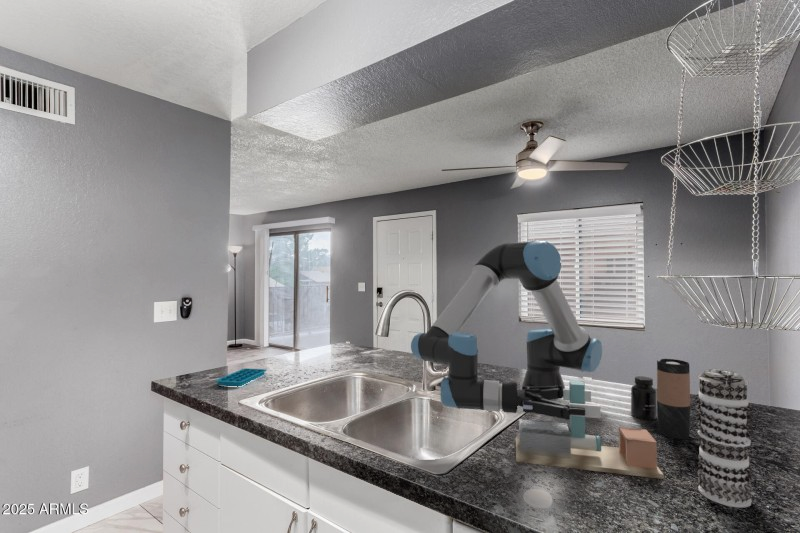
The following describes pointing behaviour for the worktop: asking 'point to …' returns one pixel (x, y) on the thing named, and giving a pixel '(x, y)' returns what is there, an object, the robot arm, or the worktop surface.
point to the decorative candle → (724, 438)
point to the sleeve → (544, 438)
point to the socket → (637, 447)
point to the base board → (591, 461)
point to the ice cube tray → (241, 377)
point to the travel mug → (673, 398)
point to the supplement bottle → (644, 399)
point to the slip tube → (581, 422)
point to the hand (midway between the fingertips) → (595, 403)
